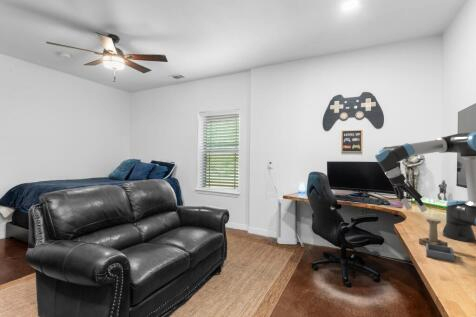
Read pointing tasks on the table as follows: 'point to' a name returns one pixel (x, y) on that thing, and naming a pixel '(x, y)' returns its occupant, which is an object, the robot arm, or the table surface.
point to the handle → (433, 229)
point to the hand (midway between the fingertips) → (416, 210)
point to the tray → (440, 252)
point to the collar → (426, 240)
